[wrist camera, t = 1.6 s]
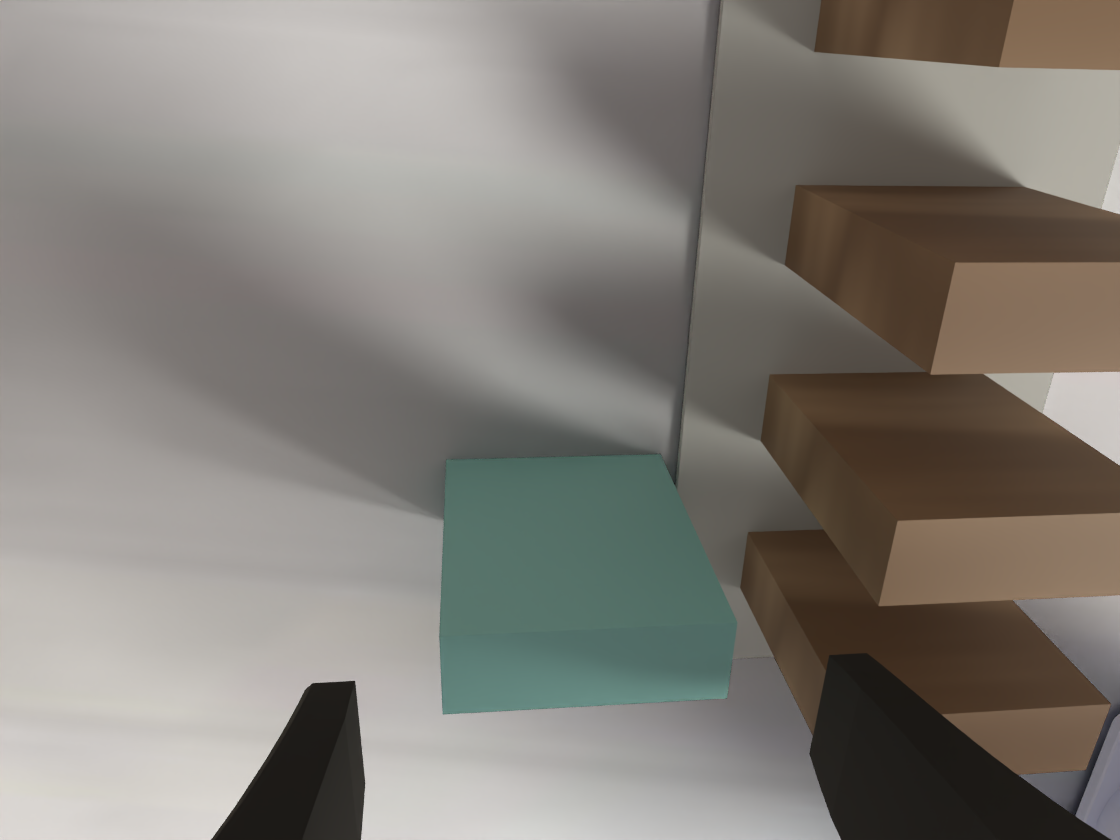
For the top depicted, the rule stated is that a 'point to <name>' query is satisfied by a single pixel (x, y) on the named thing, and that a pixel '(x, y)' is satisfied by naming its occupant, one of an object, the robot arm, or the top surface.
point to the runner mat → (764, 223)
